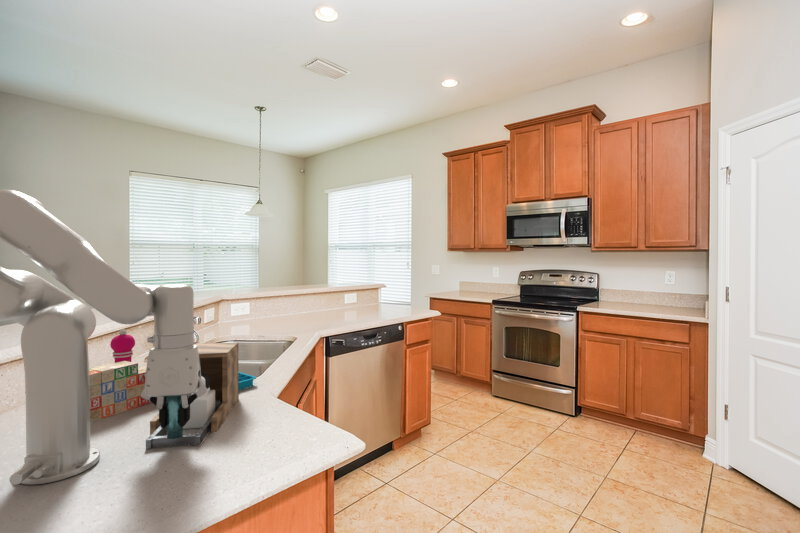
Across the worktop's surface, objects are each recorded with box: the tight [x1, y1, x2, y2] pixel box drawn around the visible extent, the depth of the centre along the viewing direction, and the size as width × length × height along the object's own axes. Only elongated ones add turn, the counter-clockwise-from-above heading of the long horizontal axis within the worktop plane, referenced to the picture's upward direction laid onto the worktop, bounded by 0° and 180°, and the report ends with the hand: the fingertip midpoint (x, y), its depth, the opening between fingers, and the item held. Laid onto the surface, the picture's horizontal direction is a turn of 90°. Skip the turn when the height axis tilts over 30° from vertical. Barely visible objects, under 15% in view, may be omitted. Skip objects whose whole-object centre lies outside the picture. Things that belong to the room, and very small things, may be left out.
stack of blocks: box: [89, 361, 152, 423], centre depth 110 cm, size 21×6×12 cm, turn 153°
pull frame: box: [145, 395, 222, 450], centre depth 95 cm, size 18×11×11 cm, turn 10°
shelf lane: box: [149, 342, 240, 436], centre depth 104 cm, size 23×14×16 cm, turn 10°
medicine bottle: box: [183, 373, 215, 430], centre depth 100 cm, size 7×7×12 cm
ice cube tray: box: [238, 371, 257, 391], centre depth 131 cm, size 12×20×3 cm, turn 55°
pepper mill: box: [109, 328, 136, 363], centre depth 118 cm, size 7×7×20 cm
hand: (174, 423), depth 88 cm, fingers closed on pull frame, 3 cm apart
